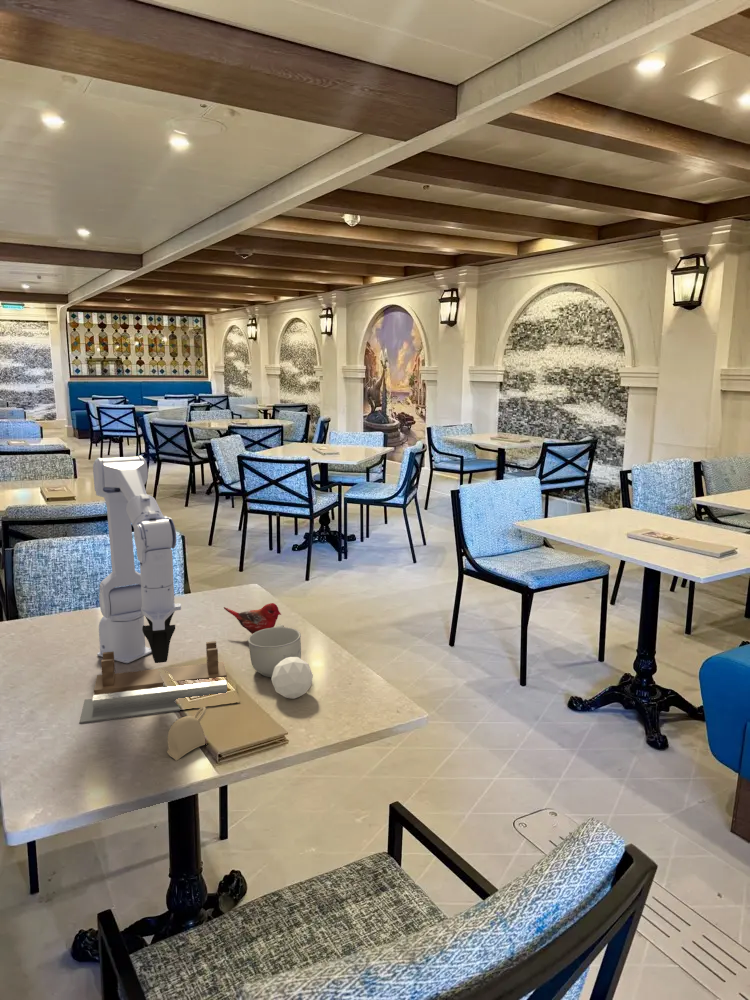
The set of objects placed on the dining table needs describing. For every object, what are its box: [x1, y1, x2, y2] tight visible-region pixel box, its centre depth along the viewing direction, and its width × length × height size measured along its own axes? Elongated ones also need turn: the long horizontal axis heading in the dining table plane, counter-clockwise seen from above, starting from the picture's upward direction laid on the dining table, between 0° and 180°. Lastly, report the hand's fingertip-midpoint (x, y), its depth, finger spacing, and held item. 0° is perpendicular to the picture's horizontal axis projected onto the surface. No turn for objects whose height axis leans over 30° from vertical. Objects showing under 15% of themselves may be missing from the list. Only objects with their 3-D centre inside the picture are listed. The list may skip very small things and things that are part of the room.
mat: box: [78, 698, 181, 724], centre depth 130 cm, size 28×9×1 cm, turn 107°
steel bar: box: [92, 680, 228, 712], centre depth 130 cm, size 24×2×2 cm, turn 107°
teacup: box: [247, 623, 302, 678], centre depth 145 cm, size 14×11×8 cm
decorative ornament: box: [166, 707, 207, 761], centre depth 114 cm, size 4×8×5 cm, turn 142°
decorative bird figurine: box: [223, 602, 282, 635], centre depth 161 cm, size 3×18×10 cm, turn 58°
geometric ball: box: [271, 657, 314, 699], centre depth 133 cm, size 8×8×8 cm
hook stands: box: [93, 640, 227, 695], centre depth 139 cm, size 25×7×6 cm, turn 107°
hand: (160, 653), depth 129 cm, fingers open, 7 cm apart
